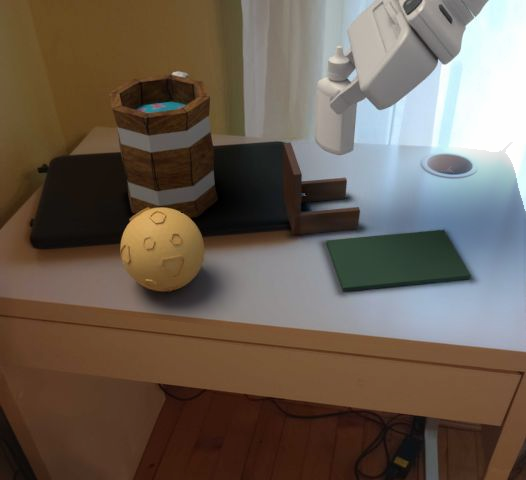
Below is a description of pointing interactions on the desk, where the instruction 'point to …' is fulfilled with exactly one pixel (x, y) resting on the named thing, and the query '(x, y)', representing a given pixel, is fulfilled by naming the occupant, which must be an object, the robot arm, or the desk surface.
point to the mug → (166, 143)
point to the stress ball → (162, 249)
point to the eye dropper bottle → (327, 121)
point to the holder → (314, 192)
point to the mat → (396, 260)
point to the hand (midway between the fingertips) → (331, 96)
